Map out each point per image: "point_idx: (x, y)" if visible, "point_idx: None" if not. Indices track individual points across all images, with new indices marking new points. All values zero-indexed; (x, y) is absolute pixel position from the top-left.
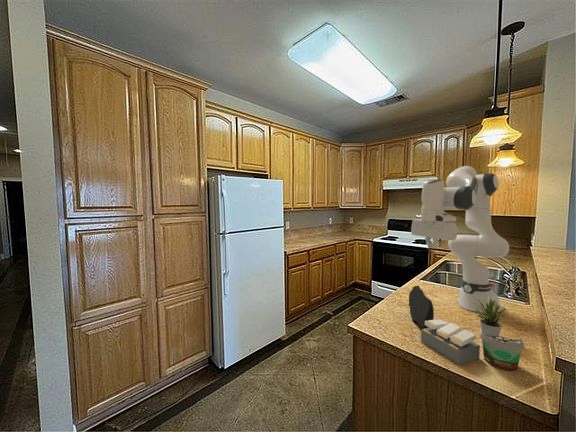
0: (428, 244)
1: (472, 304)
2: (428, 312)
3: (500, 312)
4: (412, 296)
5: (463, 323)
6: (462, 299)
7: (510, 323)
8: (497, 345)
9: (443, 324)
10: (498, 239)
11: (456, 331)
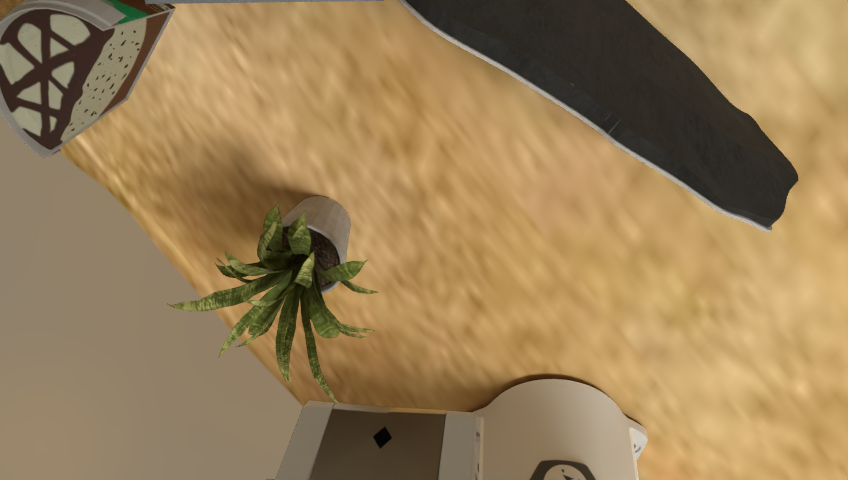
0: (438, 467)
1: (531, 412)
2: None
3: (218, 297)
4: (733, 136)
5: (459, 240)
6: (589, 422)
7: (388, 399)
8: (22, 2)
9: None
10: None
11: None
